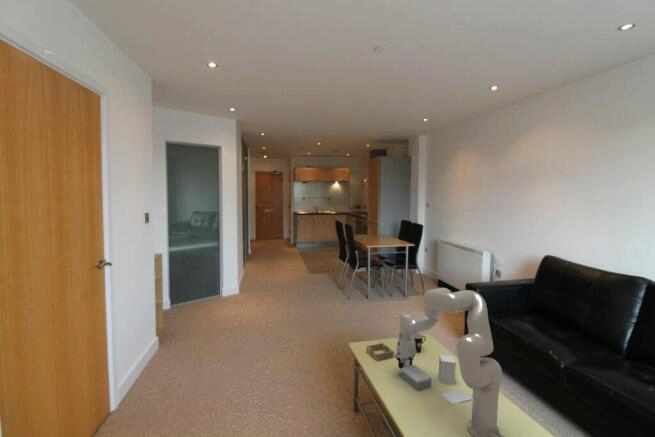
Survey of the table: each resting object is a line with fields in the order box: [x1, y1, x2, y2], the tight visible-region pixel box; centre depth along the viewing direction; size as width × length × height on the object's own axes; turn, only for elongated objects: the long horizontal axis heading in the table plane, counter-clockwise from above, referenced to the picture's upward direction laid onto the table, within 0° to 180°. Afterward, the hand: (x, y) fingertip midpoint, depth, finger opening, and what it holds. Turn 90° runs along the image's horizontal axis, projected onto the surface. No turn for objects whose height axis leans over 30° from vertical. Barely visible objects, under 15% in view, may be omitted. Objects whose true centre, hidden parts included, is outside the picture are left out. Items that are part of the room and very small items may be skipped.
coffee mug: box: [413, 332, 427, 354], centre depth 202 cm, size 12×9×10 cm
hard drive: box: [440, 389, 473, 405], centre depth 154 cm, size 2×8×12 cm
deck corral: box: [366, 342, 395, 362], centre depth 196 cm, size 12×12×4 cm
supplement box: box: [438, 354, 457, 385], centre depth 168 cm, size 7×7×13 cm
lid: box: [400, 357, 432, 383], centre depth 167 cm, size 17×9×4 cm, turn 25°
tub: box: [400, 369, 432, 392], centre depth 166 cm, size 13×9×5 cm
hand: (405, 366), depth 173 cm, fingers open, 5 cm apart
